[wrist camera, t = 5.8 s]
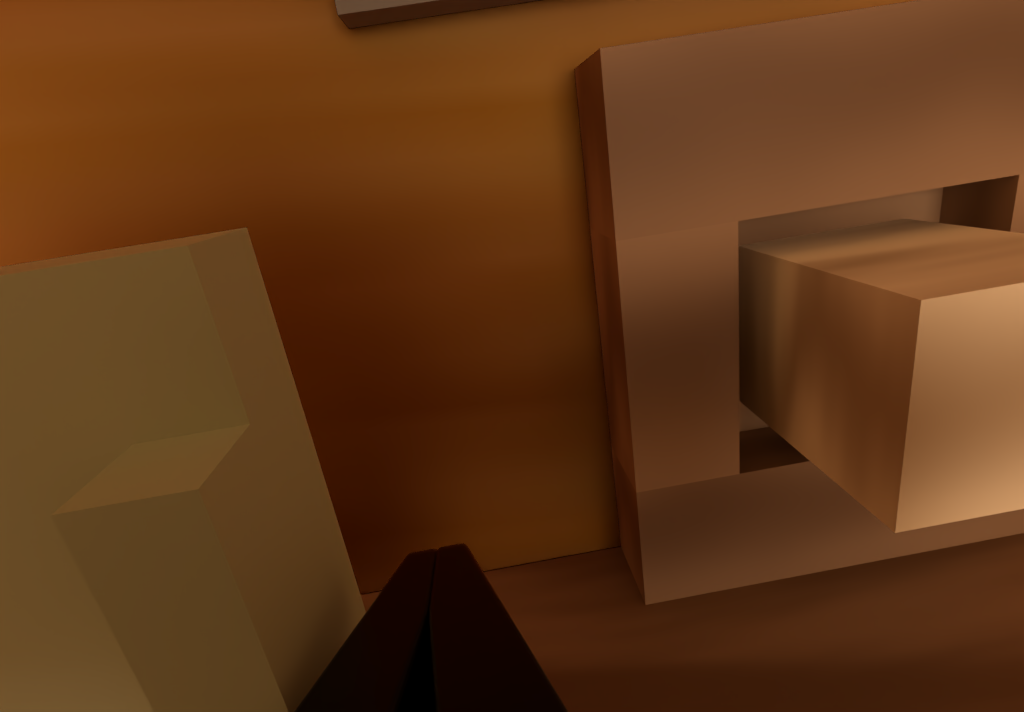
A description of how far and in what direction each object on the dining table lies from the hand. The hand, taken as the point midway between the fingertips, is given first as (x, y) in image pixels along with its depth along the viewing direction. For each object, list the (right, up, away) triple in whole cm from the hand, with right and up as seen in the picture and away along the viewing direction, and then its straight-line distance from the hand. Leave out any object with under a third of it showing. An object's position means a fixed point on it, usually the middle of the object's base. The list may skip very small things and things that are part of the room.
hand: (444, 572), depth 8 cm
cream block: (+9, +4, +8) cm, 13 cm away
